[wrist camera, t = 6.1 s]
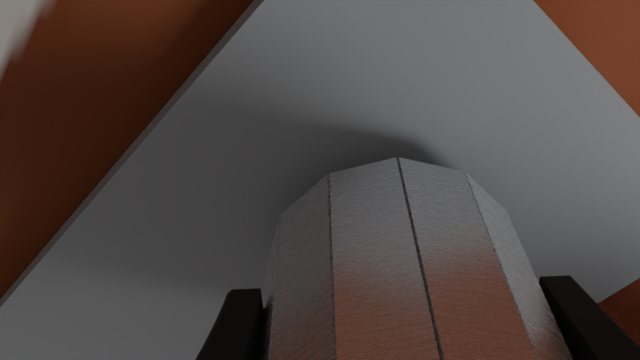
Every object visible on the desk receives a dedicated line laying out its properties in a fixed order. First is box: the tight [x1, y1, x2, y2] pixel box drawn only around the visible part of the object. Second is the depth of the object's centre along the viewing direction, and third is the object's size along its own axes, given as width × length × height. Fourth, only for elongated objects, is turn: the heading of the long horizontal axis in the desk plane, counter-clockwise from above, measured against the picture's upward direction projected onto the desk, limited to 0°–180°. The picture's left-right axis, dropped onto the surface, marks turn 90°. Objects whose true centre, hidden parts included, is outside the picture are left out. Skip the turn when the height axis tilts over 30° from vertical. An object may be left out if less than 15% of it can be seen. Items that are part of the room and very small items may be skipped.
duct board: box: [0, 0, 640, 360], centre depth 15 cm, size 12×18×4 cm, turn 138°
